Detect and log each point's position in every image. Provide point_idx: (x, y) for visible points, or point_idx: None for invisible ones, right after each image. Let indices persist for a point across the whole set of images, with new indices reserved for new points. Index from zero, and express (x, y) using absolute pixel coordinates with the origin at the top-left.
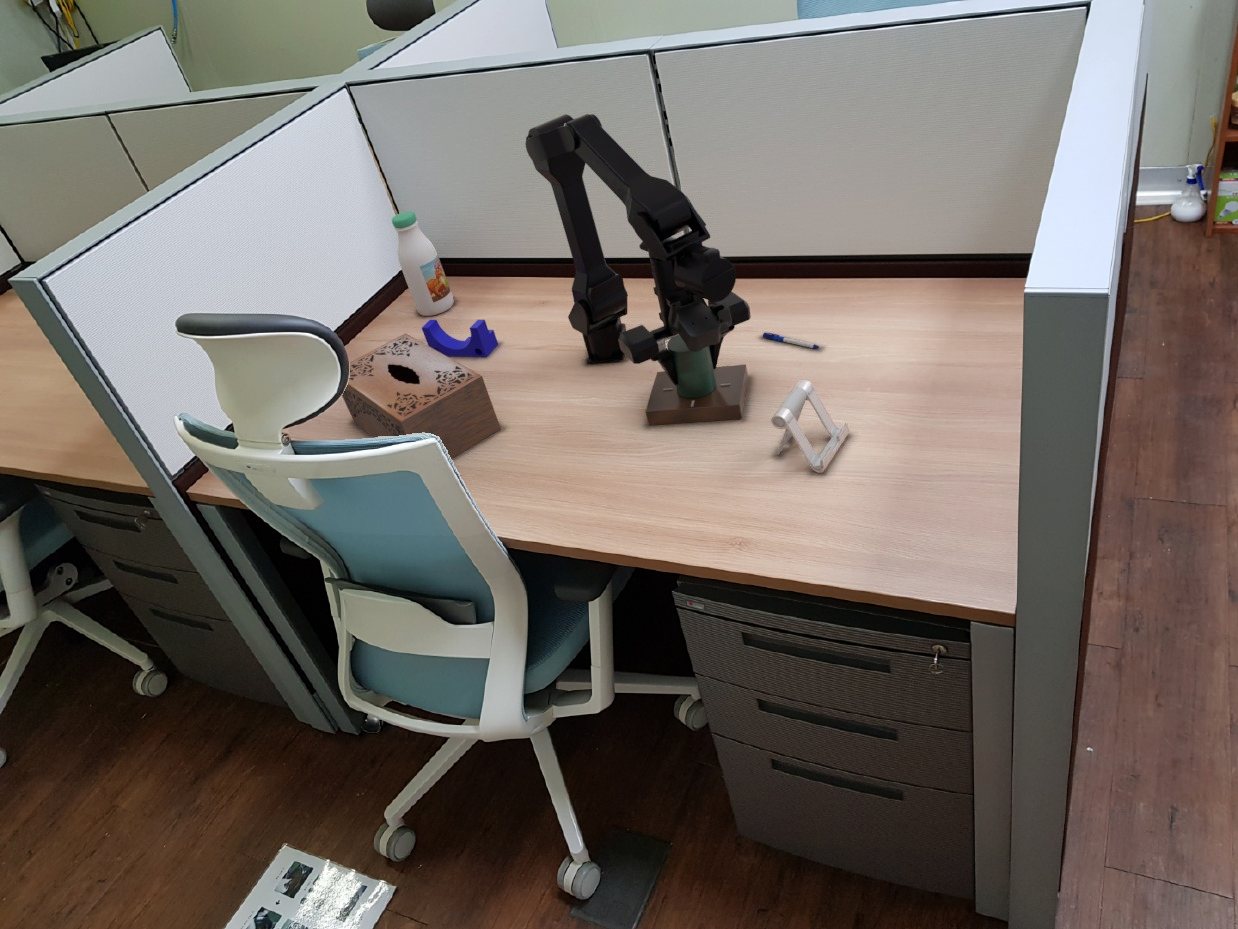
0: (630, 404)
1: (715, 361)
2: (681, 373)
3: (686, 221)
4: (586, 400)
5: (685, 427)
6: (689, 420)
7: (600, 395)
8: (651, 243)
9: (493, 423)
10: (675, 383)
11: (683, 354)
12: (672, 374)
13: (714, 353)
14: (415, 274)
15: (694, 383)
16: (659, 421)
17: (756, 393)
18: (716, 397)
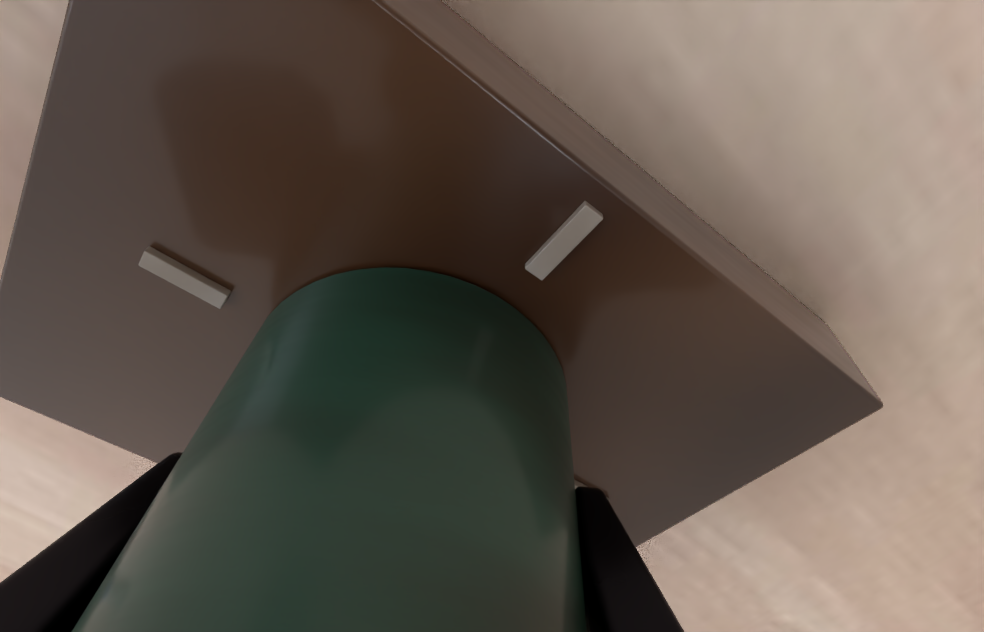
0: (722, 515)
1: (111, 520)
2: (562, 586)
3: None
4: (814, 623)
5: (690, 121)
6: (628, 159)
7: (751, 615)
8: None
9: None
10: (602, 503)
11: None
12: (647, 621)
13: (23, 630)
14: None
15: (466, 396)
16: (788, 298)
17: (17, 119)
18: (327, 171)
